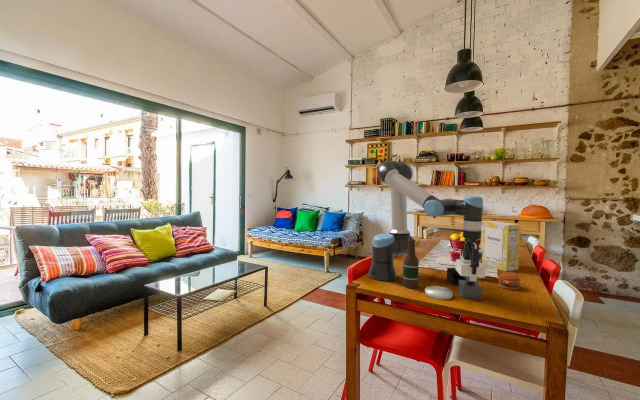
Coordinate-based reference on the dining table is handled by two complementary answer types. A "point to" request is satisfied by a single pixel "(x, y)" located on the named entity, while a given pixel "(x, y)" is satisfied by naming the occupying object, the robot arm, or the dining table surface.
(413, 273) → the beer bottle
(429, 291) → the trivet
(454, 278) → the digital camera
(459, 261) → the white square open box
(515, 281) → the hamburger
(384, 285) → the dining table surface
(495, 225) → the pasta box
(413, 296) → the dining table surface
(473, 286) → the post stand
